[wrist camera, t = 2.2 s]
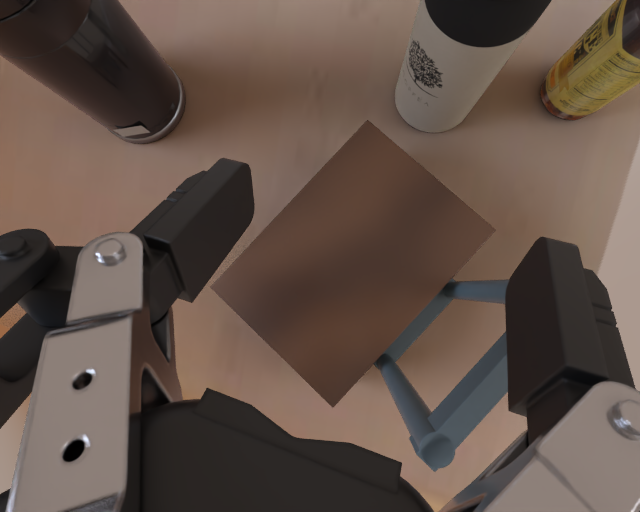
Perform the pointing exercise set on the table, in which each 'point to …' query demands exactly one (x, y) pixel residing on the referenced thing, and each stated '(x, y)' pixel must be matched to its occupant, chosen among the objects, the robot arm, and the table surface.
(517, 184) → the table surface
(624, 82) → the sauce bottle
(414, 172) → the walnut table
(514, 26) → the travel mug
